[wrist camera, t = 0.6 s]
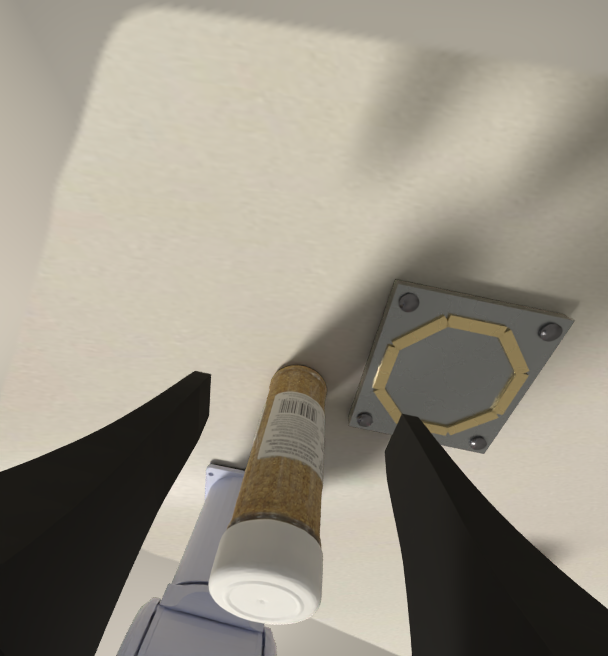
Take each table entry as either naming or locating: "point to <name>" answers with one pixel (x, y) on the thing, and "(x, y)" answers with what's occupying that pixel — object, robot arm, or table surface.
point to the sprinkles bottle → (278, 510)
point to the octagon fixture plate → (453, 363)
